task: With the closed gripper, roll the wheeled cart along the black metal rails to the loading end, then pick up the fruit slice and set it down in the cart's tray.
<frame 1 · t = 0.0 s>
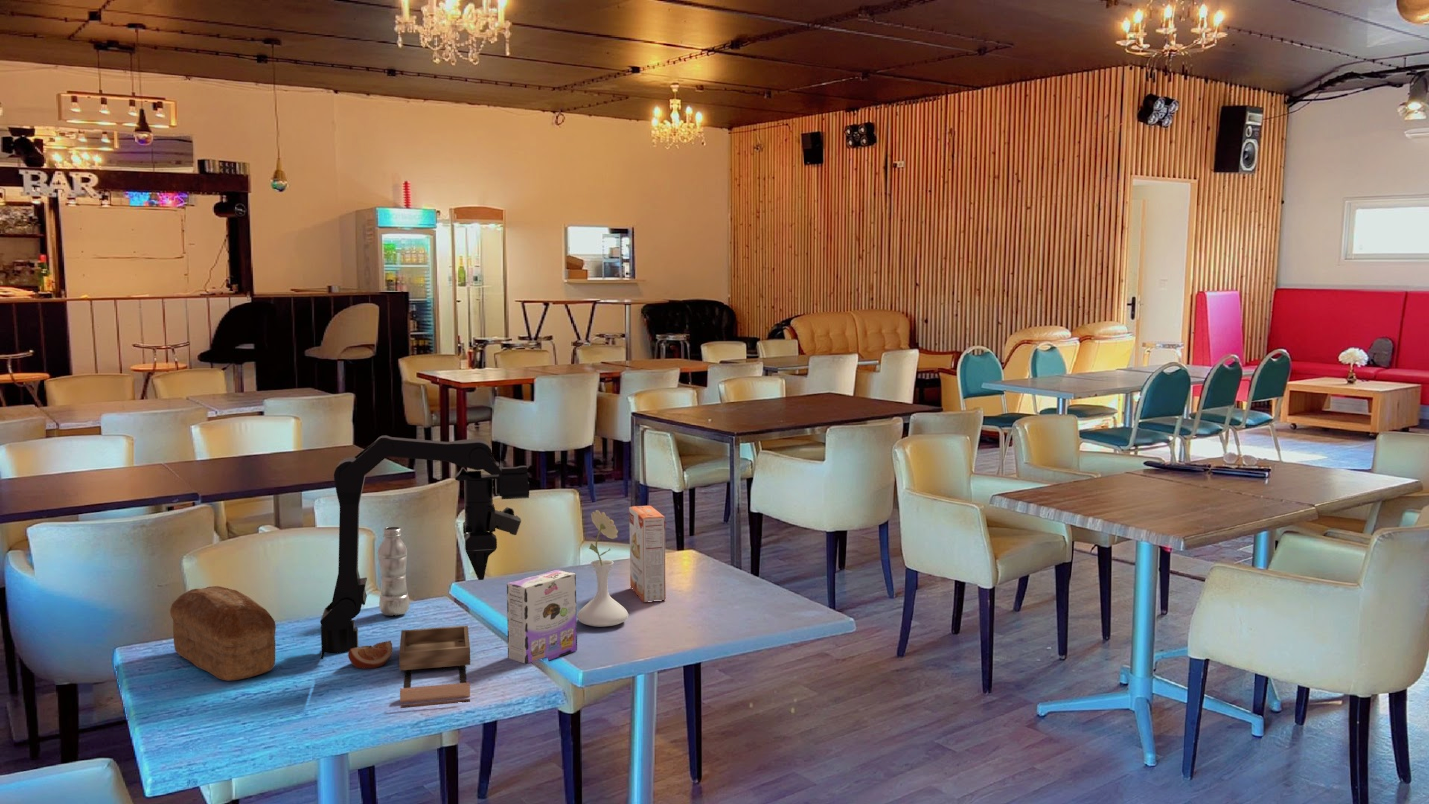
hand: (480, 574, 221), 15 cm above the table, tool pointing down, fingers open, 9 cm apart
bread: (223, 664, 210), on the table
rail track: (435, 677, 202), on the table
flower in vase: (601, 623, 237), on the table
fruit slice: (371, 670, 207), on the table
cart: (435, 648, 208), point 3 cm above the table, slide at 0.0 cm
plastic bottle: (394, 615, 242), on the table
cracker box: (647, 595, 259), on the table
candy box: (543, 658, 214), on the table
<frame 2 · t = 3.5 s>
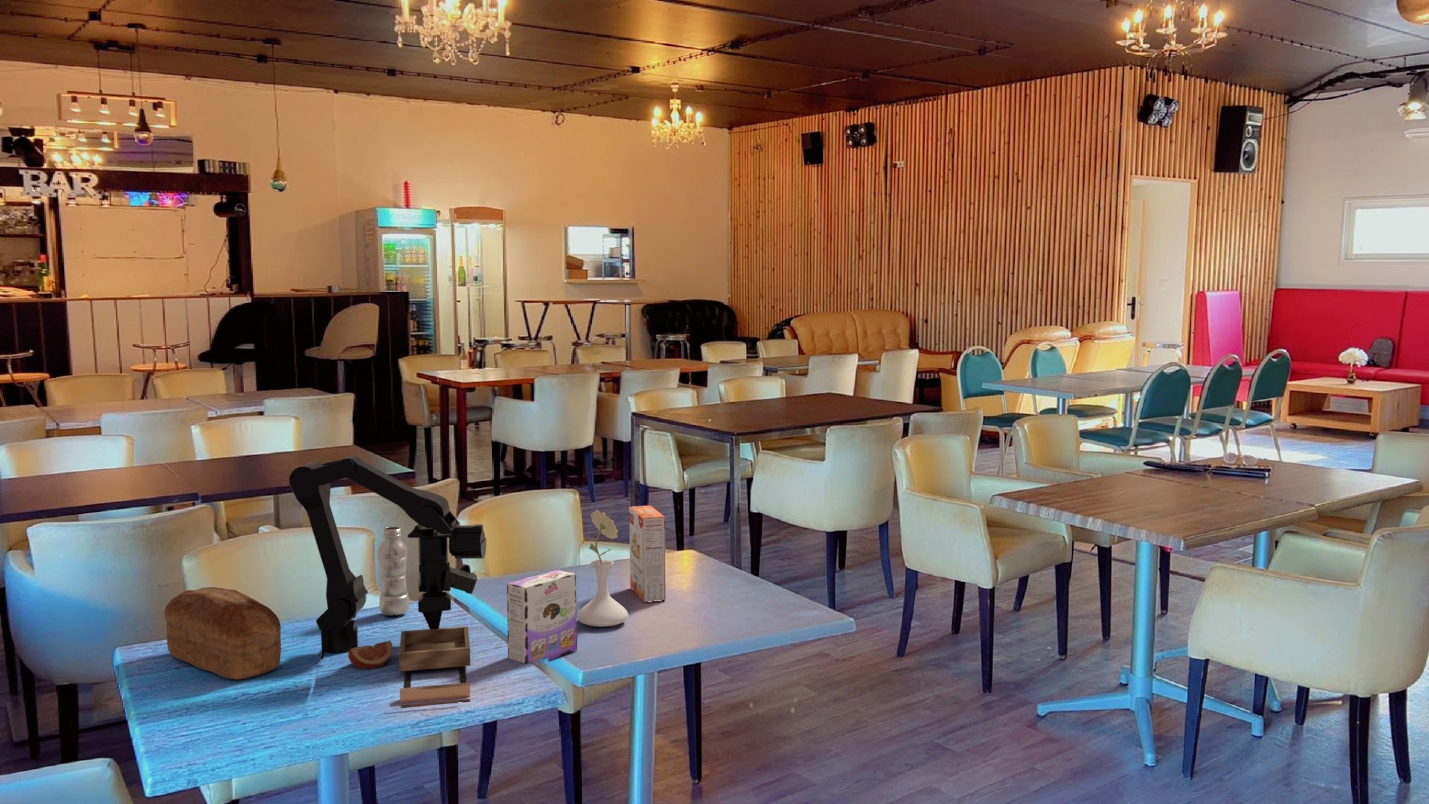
hand: (435, 633, 216), 4 cm above the table, tool pointing down, fingers closed
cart: (435, 649, 208), point 3 cm above the table, slide at 0.5 cm, touching gripper
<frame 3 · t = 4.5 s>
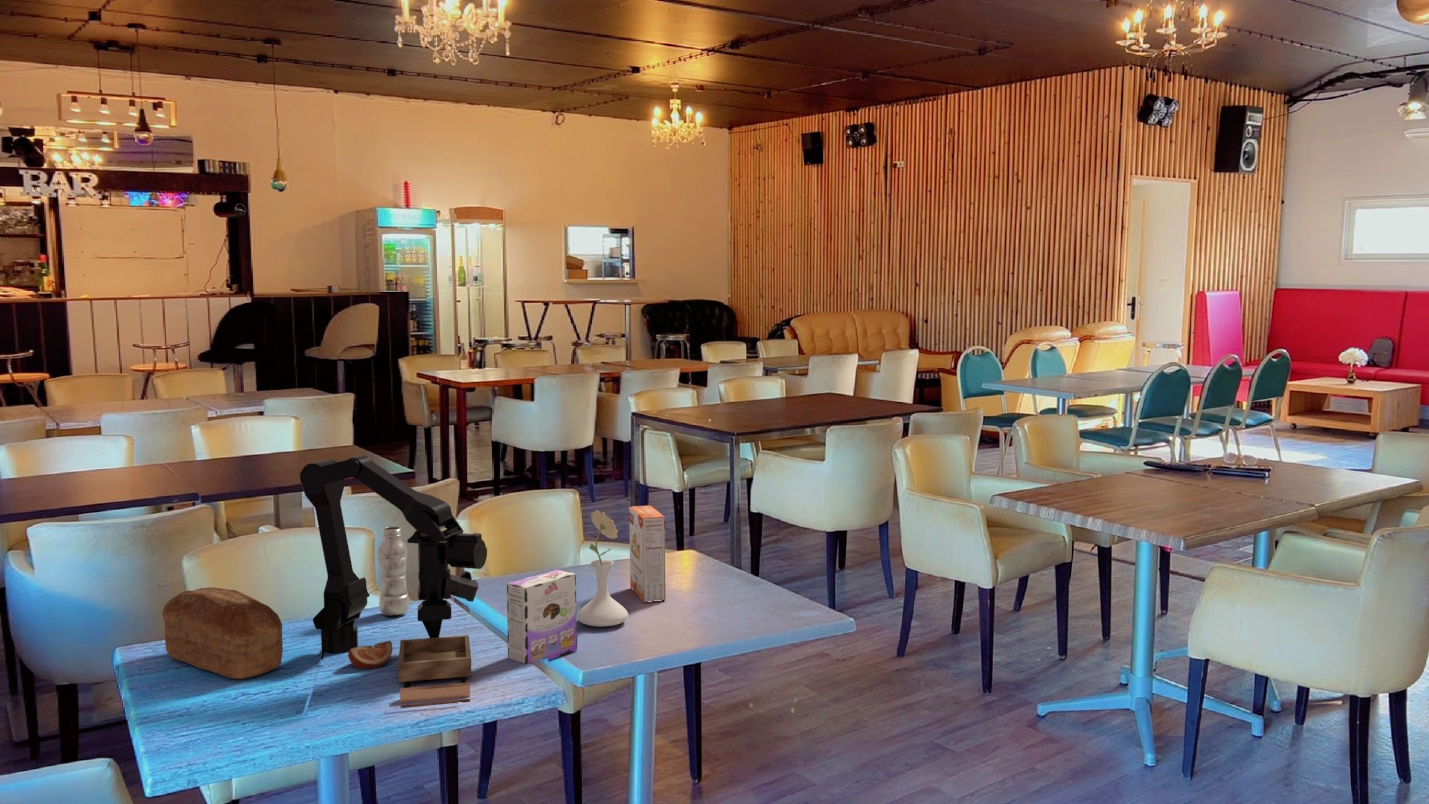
hand: (435, 642, 210), 4 cm above the table, tool pointing down, fingers closed
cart: (435, 659, 202), point 3 cm above the table, slide at 6.3 cm, touching gripper
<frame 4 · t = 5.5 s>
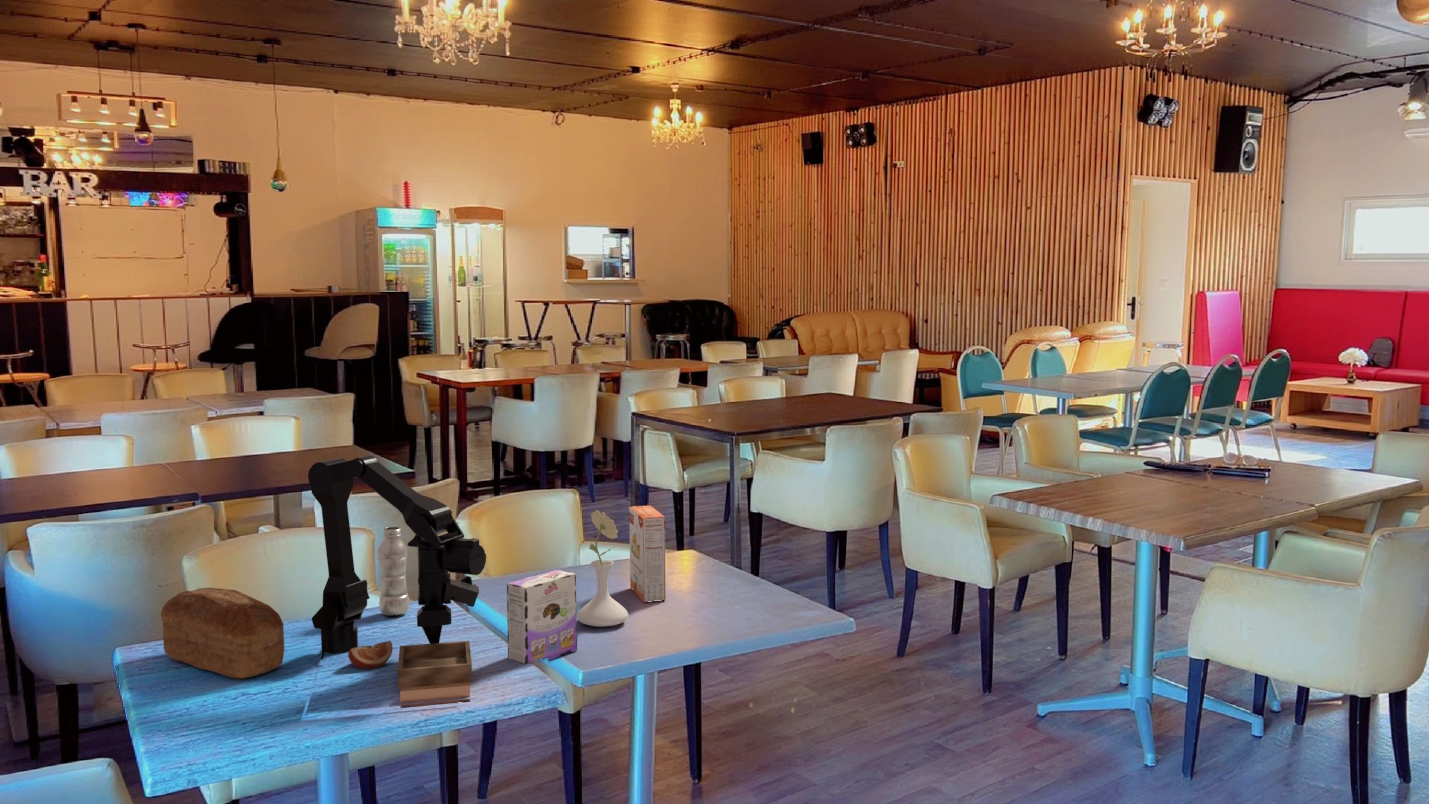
hand: (435, 648, 207), 4 cm above the table, tool pointing down, fingers closed
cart: (435, 665, 199), point 3 cm above the table, slide at 9.8 cm, touching gripper
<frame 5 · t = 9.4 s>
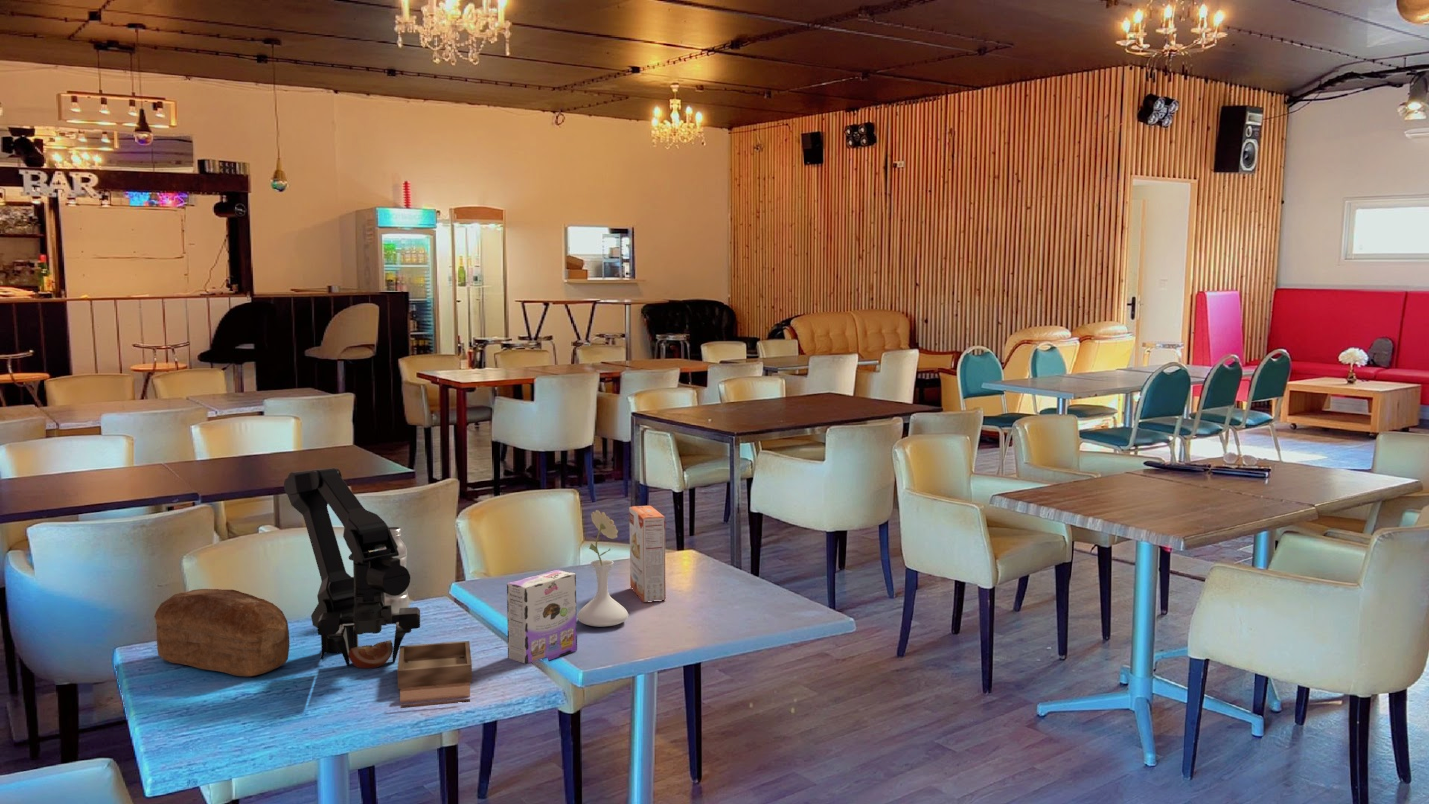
hand: (371, 663, 207), 1 cm above the table, tool pointing down, fingers closed on fruit slice, 8 cm apart
fruit slice: (372, 669, 207), on the table, touching gripper
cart: (435, 665, 199), point 3 cm above the table, slide at 10.0 cm
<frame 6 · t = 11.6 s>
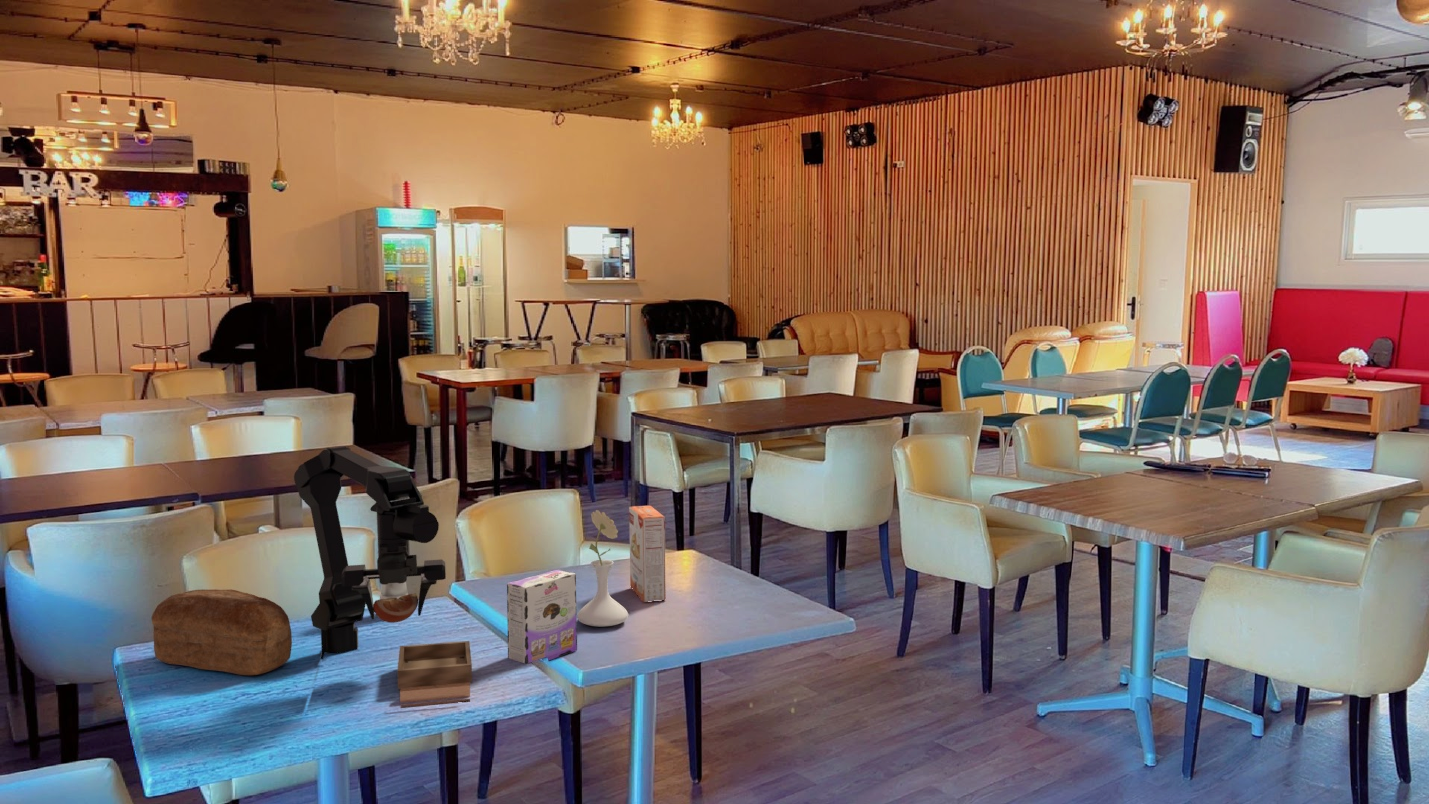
hand: (396, 617, 202), 11 cm above the table, tool pointing down, fingers closed on fruit slice, 8 cm apart
fruit slice: (397, 623, 202), point 10 cm above the table, touching gripper
when the fingers open (6 cm above the table, at t = 13.7 s): fruit slice drops 2 cm, resting on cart.
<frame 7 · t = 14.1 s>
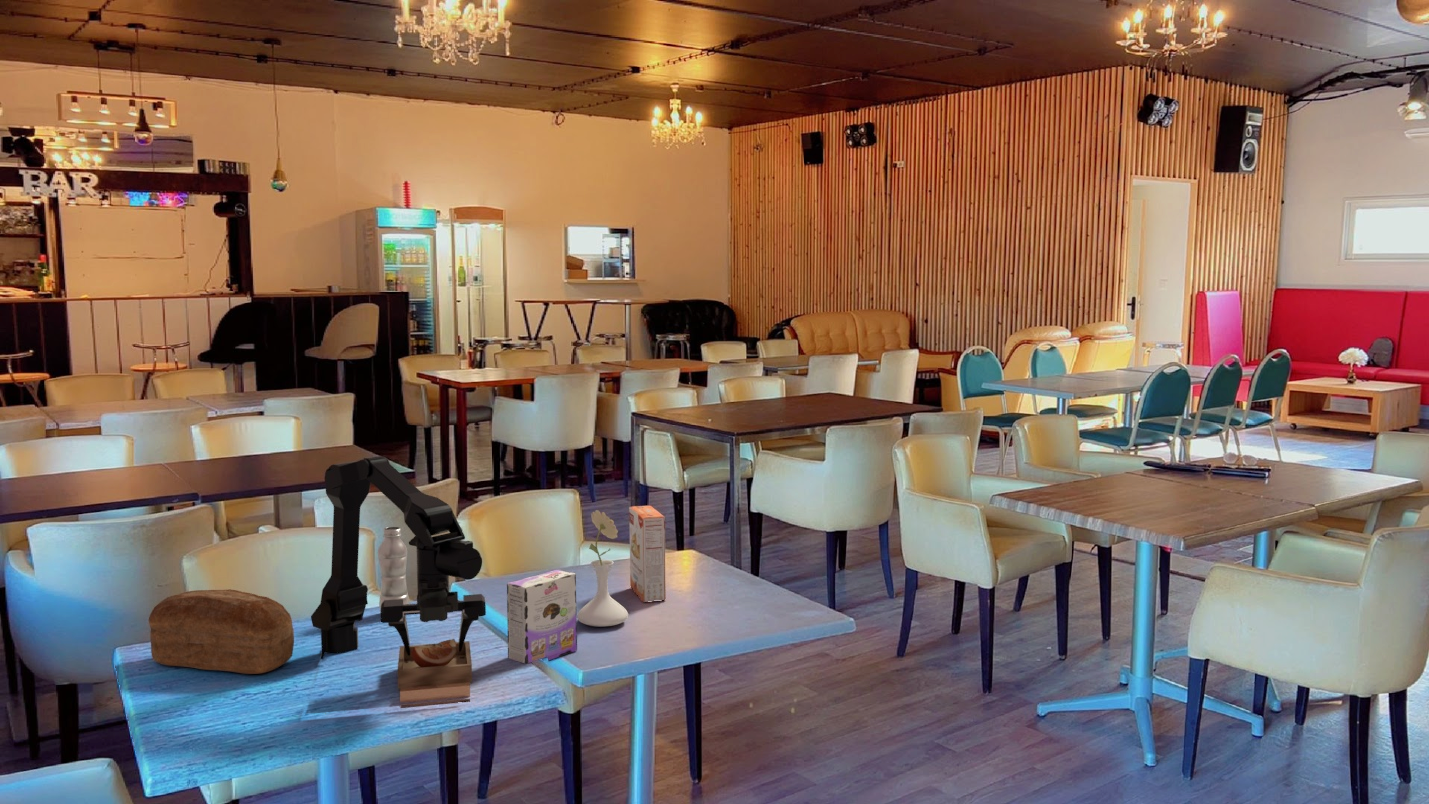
hand: (434, 653, 198), 6 cm above the table, tool pointing down, fingers open, 9 cm apart
fruit slice: (435, 669, 198), point 3 cm above the table, touching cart
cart: (435, 666, 199), point 3 cm above the table, slide at 10.1 cm, touching fruit slice
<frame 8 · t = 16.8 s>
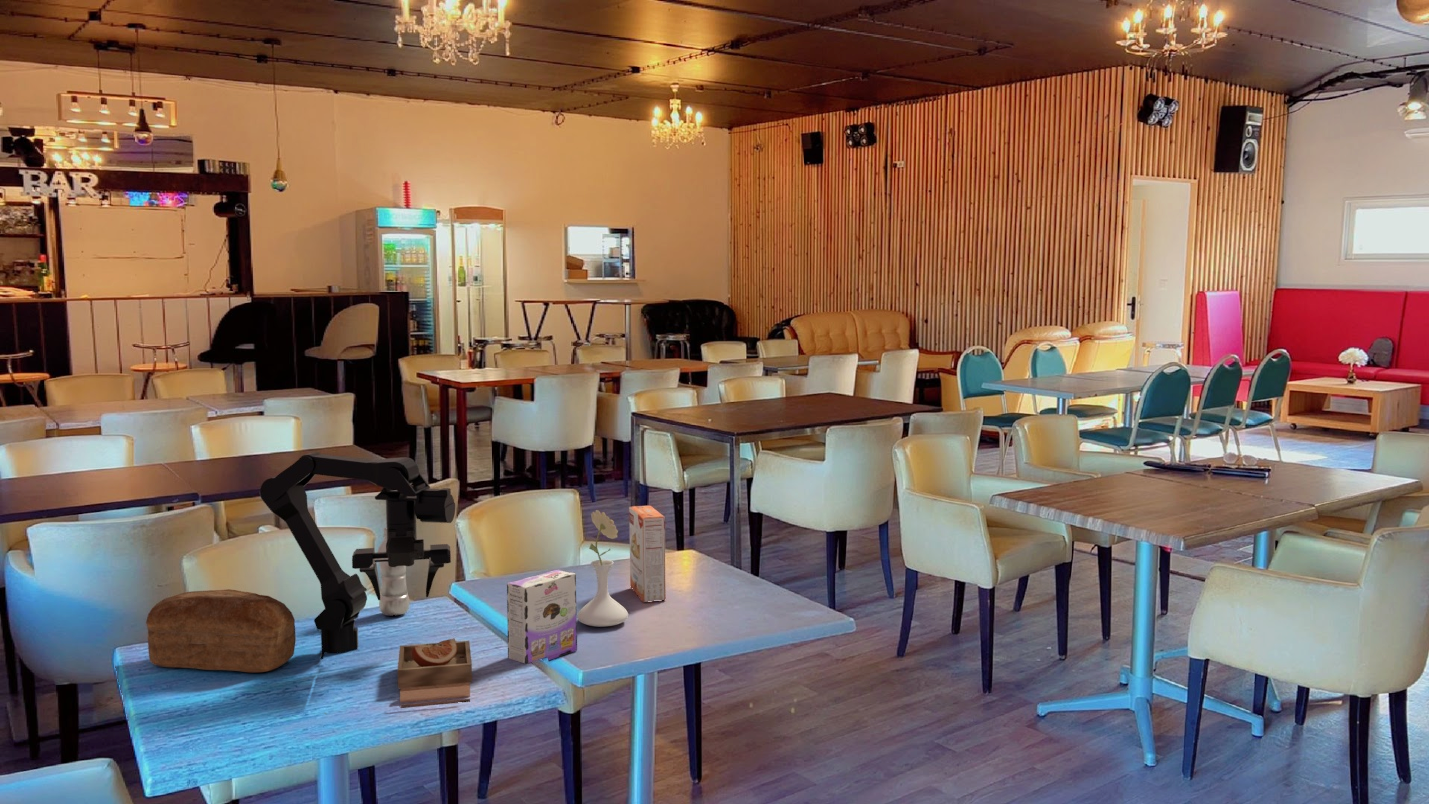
hand: (403, 598, 213), 12 cm above the table, tool pointing down, fingers open, 9 cm apart
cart: (435, 665, 199), point 3 cm above the table, slide at 9.8 cm, touching fruit slice
at the end: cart slide at 9.7 cm; fruit slice inside the target area (0.3 cm from its centre), point 2.8 cm above the table; fruit slice touching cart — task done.
